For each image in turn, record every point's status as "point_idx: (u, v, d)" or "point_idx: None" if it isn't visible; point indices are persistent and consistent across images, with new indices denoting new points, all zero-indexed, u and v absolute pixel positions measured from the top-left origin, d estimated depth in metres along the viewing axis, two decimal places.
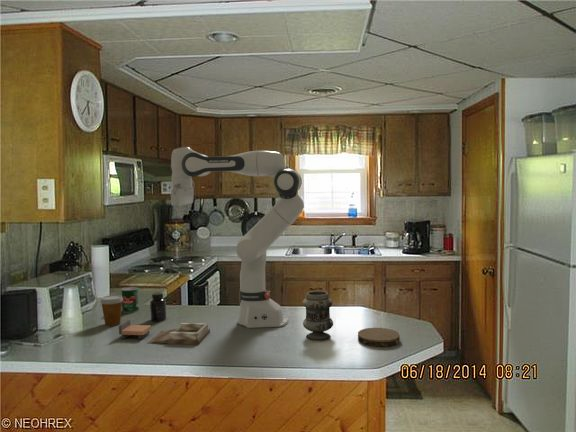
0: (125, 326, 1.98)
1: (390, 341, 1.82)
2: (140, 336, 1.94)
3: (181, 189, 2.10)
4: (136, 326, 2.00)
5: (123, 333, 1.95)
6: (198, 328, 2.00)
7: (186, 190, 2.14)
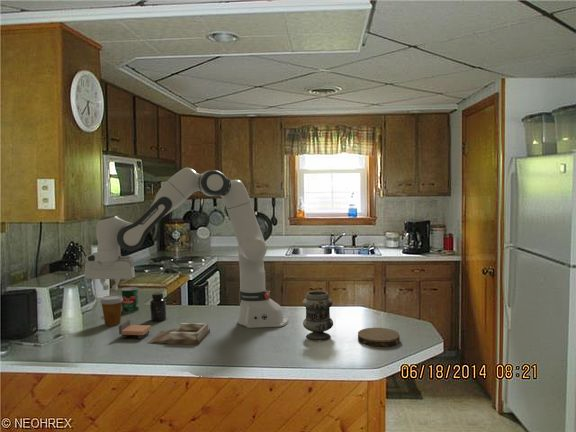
0: (125, 326, 1.98)
1: (390, 341, 1.82)
2: (140, 336, 1.94)
3: None
4: (136, 326, 2.00)
5: (123, 333, 1.95)
6: (198, 328, 2.00)
7: None
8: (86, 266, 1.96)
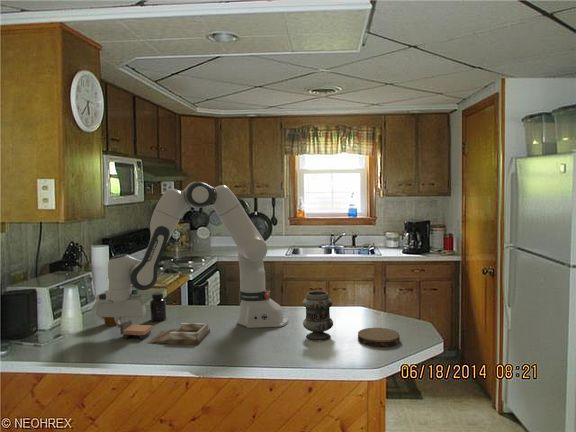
0: (126, 326, 1.98)
1: (390, 341, 1.82)
2: (141, 336, 1.94)
3: None
4: (137, 326, 2.00)
5: (124, 333, 1.95)
6: (198, 328, 2.00)
7: None
8: (97, 304, 1.97)
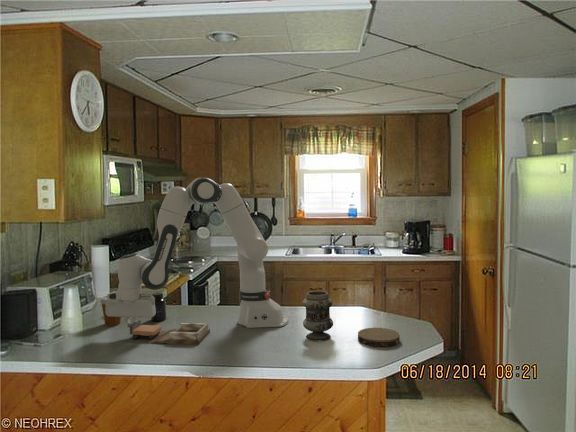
0: (136, 326, 1.97)
1: (390, 341, 1.82)
2: (151, 336, 1.93)
3: None
4: (147, 326, 2.00)
5: (134, 333, 1.94)
6: (198, 328, 2.00)
7: None
8: (107, 304, 1.96)
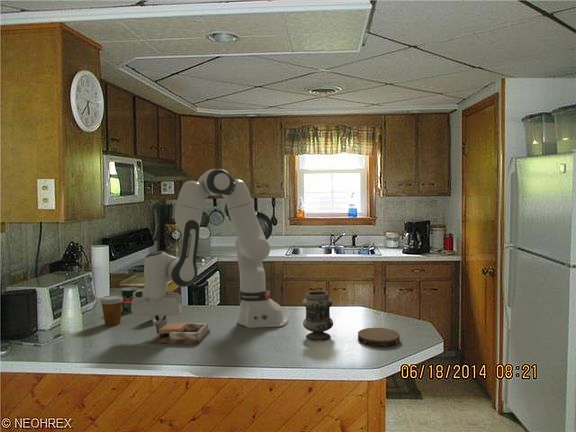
0: (162, 325, 1.96)
1: (390, 341, 1.82)
2: None
3: None
4: (173, 324, 1.98)
5: (161, 332, 1.92)
6: (198, 328, 2.00)
7: None
8: (133, 302, 1.95)
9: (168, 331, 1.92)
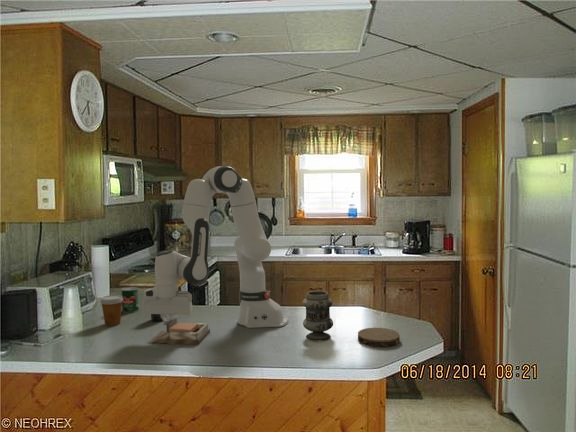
0: (172, 324, 1.95)
1: (390, 341, 1.82)
2: None
3: None
4: (183, 324, 1.97)
5: (171, 331, 1.91)
6: (198, 328, 2.00)
7: None
8: (144, 301, 1.94)
9: (178, 331, 1.91)
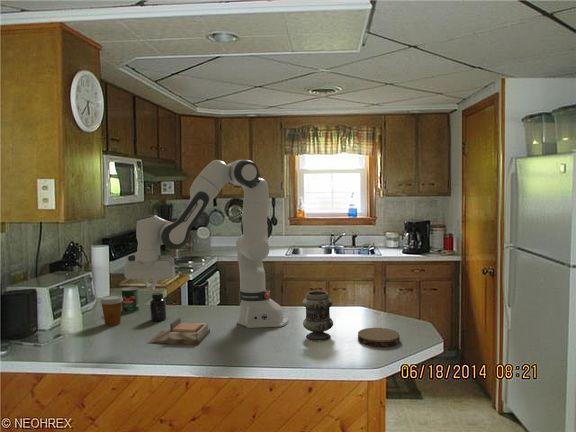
0: (176, 324, 1.94)
1: (390, 341, 1.82)
2: None
3: None
4: (187, 324, 1.97)
5: (174, 331, 1.91)
6: None
7: None
8: (126, 266, 1.94)
9: (182, 331, 1.90)
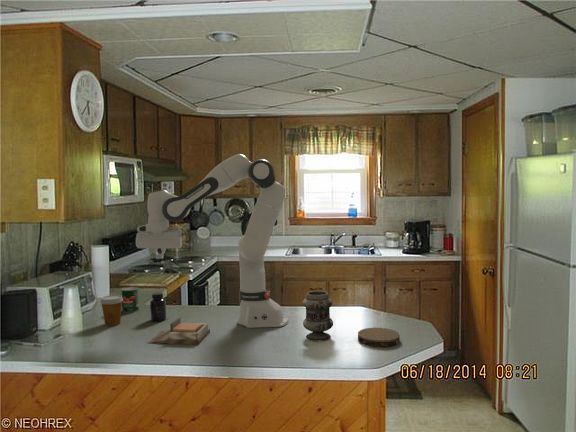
0: (176, 324, 1.94)
1: (390, 341, 1.82)
2: None
3: None
4: (187, 324, 1.97)
5: (174, 331, 1.91)
6: None
7: None
8: (137, 236, 2.12)
9: (182, 331, 1.90)
